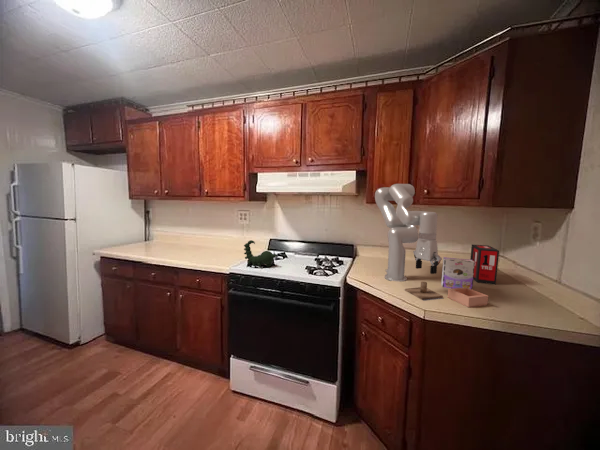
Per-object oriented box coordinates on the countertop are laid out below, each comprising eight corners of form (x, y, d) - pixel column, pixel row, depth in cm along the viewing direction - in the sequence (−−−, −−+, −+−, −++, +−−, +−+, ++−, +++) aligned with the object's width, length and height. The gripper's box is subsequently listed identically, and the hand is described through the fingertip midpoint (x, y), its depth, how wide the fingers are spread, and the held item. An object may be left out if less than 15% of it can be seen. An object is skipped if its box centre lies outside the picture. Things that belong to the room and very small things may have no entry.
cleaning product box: (495, 284, 139) (499, 250, 137) (477, 282, 142) (480, 249, 140) (485, 276, 154) (488, 245, 152) (469, 274, 158) (471, 244, 155)
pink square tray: (447, 298, 118) (448, 288, 118) (465, 296, 121) (466, 287, 120) (468, 308, 107) (469, 297, 107) (487, 306, 110) (488, 295, 110)
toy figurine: (243, 267, 171) (274, 268, 162) (240, 241, 170) (272, 241, 161) (250, 264, 180) (280, 265, 171) (248, 239, 179) (278, 238, 170)
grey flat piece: (403, 290, 127) (403, 289, 127) (422, 289, 130) (422, 288, 130) (423, 301, 114) (423, 300, 114) (444, 299, 117) (444, 298, 117)
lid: (405, 290, 126) (405, 279, 126) (424, 288, 129) (425, 277, 129) (421, 299, 115) (422, 287, 114) (442, 297, 118) (443, 285, 117)
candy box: (469, 288, 132) (472, 259, 130) (472, 292, 127) (475, 261, 125) (440, 284, 138) (443, 256, 136) (442, 288, 132) (444, 258, 131)
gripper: (409, 234, 126) (407, 266, 128) (435, 239, 109) (433, 276, 111) (421, 234, 128) (419, 266, 129) (448, 239, 111) (446, 275, 113)
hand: (425, 270), depth 120 cm, fingers open, 9 cm apart
